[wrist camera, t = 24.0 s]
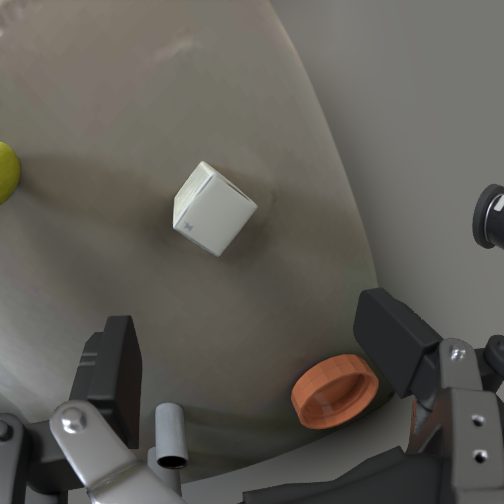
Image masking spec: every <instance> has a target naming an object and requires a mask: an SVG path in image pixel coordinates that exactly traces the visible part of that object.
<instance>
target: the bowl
mask: <svg viewBox="0 0 504 504" xmlns="http://www.w3.org/2000/svg"><path fill="white" fill-rule="evenodd" d="M377 390H378V379H377V377H376V376H375V374H374V373H373V371H372V370H371V369H370V367H369V366H368V365H367V363H366V362H365V361H364V359H363V358H361V357H359V356H357V355H349V354H344V355H339V356H335V357H331V358H329V359H327V360H325V361H322V362H320V363H318V364H317V365H315V366H314V367H312V368H311V369H309V370H308V371H307V372H306V373H305V374H304V375H303V376H302V377H301V378H300V379H299V380H298V381H297V383H296V384H295V386H294V388H293V390H292V395H291V401H292V403H293V406H294V408H295V410H296V413H297V415H298V417H299V420H300V422H301V424H303V425H304V426H306V427H308V428H312V429H324V428H329V427H333V426H336V425H339V424H341V423H343V422H346V421H348V420H350V419H351V418H353V417H354V416H356V415H357V414H359V413H360V412H361V411H362V410H363V409H364V408H365V407H366V406H368V404H369V403H370V402H371V401H372V399H373V398H374V396H375V395H376V392H377Z"/></svg>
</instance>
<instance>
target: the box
mask: <svg viewBox="0 0 504 504" xmlns="http://www.w3.org/2000/svg"><path fill="white" fill-rule="evenodd" d="M256 209H257V205H256V204H255V203H254V202H253V201H252V200H251V199H249V198H248V197H247V196H246V195H245V194H244V193H243V192H242V191H240V190H239V189H238V188H237V187H236V186H235V185H234V184H233V183H231V182H230V181H229V180H228V179H226V178H225V177H224V176H223V175H221V174H220V173H219V172H218V171H216V170H215V169H214V168H212V167H211V166H210V165H208V164H207V163H205V162H204V161H202V162H201V163H200V164H199V165H198V166H197V168H196V169H195V170H194V171H193V173H192V174H191V175H190V176H189V178H188V179H187V181H186V182H185V183H184V185H183V186H182V187H181V189H180V190H179V192H178V193H177V195H176V196H175V198H174V216H173V228H174V229H175V230H177V231H178V232H180V233H181V234H183V235H184V236H185V237H187V238H188V239H190V240H191V241H193V242H194V243H196V244H198V245H199V246H201V247H202V248H204V249H205V250H207V251H209V252H210V253H212V254H214V255H215V256H220V255H221V253H222V252H223V251H224V250H225V249H226V247H227V246H228V245H229V244H230V242H231V241H232V240H233V239H234V238H235V236H236V235H237V234H238V232H239V231H240V230H241V229H242V227H243V226H244V225H245V223H246V222H247V221H248V219H249V218H250V217H251V216H252V214H253V213H254V211H255V210H256Z"/></svg>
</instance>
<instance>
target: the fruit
mask: <svg viewBox="0 0 504 504" xmlns="http://www.w3.org/2000/svg"><path fill="white" fill-rule="evenodd" d="M20 174H21V165H20V161H19V159H18V157H17V155H16V153H15V152H14V151H13V149H12V148H10V147H9V146H8V145H6V144H5V143H3V142H0V205H1V204H3V203H4V202H5V201H7V200H8V199H9V197H10V196H11V195H12V194H13V192H14V190H15V188H16V186H17V184H18V182H19V179H20Z"/></svg>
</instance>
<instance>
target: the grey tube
mask: <svg viewBox="0 0 504 504" xmlns="http://www.w3.org/2000/svg"><path fill="white" fill-rule="evenodd" d="M156 457H157V464H158V465H159V466H161V467H163V468H166V469H172V470H175V469H182V468H184V467H186V466H187V465H188V464H189V460H188V452H187V443H186V433H185V423H184V413H183V409H182V407H180V406H179V405H177V404H175V403H163V404H160V405H158V406H157V408H156Z"/></svg>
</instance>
